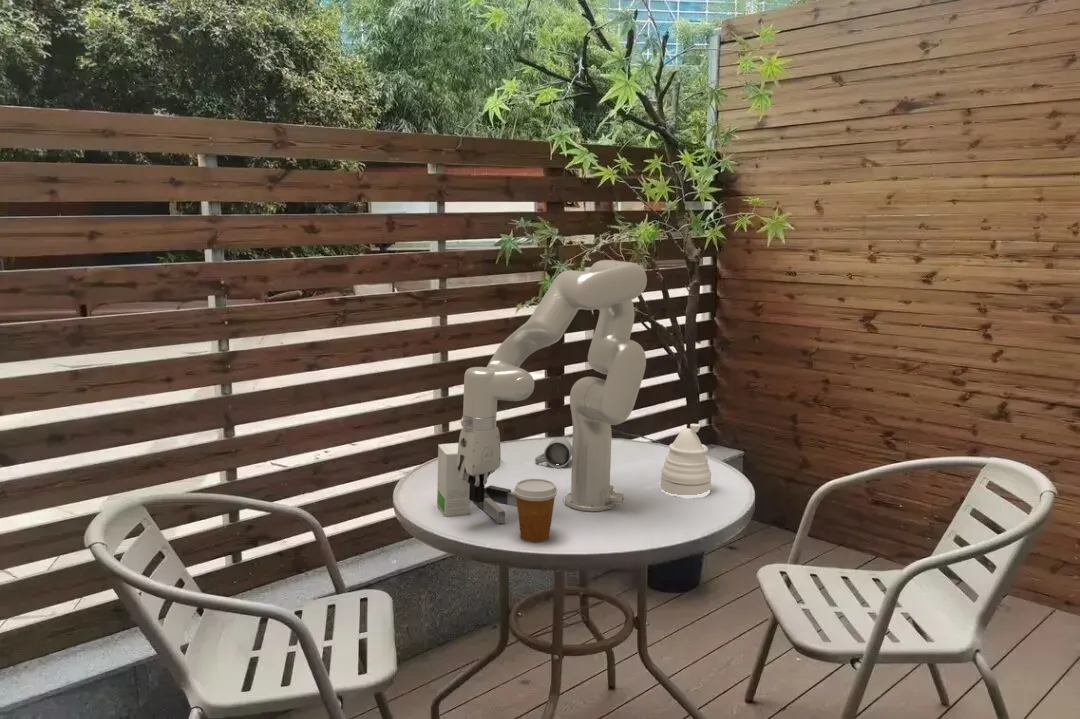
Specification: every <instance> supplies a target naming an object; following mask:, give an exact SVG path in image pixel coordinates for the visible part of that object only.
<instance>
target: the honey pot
mask: <svg viewBox="0 0 1080 719" xmlns="http://www.w3.org/2000/svg"><path fill="white" fill-rule="evenodd" d="M700 429H701V424H699V423H690V425H689V428H688V427H686V428H684V429H682V430H680V432H679V433H678V435H677V436H676V438H675V439H674V441H673V442H672V443H670V444H669V445H668V449H669V451H668V453H667V455H666V456H665V461H664V463H663V465H662V467H661V471H660V472H661V473H660V485H659V486H661V489H662V490H664V491H665V492H668V493H671V494H677V495H697V494H702V493H704V492H707V491H708V490H710V491H711V487H712V486H711V482H712V472H711V470H710V466H709V464H708V463H709V461H708V458H707V456H706V454H707V452H709V447H708V446H706V445H705V444H702V442H701V439H700V438H699V436H698V435H697V433H698V432H699V430H700ZM661 489H660V490H661Z"/></svg>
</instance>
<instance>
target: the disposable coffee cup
mask: <svg viewBox="0 0 1080 719" xmlns="http://www.w3.org/2000/svg"><path fill="white" fill-rule="evenodd" d="M513 492H514V493H515V495H516V499H517V506H516V507H517V515H518V523H519V524H518V526H519V533H520V538H521V540H523V541H525V542H528V541H529V543H542V542H546V541H547V540H549V538H550V532H551V526H552V518H553V511H554V506H555V500H556V499H555V498H556V496H557V494H558V489H557V486H556V484H555V483H554V482H553V481H551V480H548V479H543V478H527V479H522V480H520V481H518V482H517V483H516V484H515V488H514V489H513Z"/></svg>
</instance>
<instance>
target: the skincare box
mask: <svg viewBox="0 0 1080 719" xmlns="http://www.w3.org/2000/svg"><path fill="white" fill-rule="evenodd" d="M458 444H459V442H454V443H453V442H451V443H441V444H439V443H438V448H437V452H438V453H437V455H438V456H437V490H436V493H437V495H436V496H437V498H436V505H437V507H438V509H439V510H440V511H441V513H442V514H443V516H444V517H445V518H446V517H453V516H454V517H455V516H463V515H470V514H471V500H469V489H470V484H468V482H467V481H466V480H461V479H459V474H460V472H459V471H458V469H457V453H458Z"/></svg>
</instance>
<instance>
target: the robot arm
mask: <svg viewBox="0 0 1080 719" xmlns="http://www.w3.org/2000/svg"><path fill="white" fill-rule="evenodd" d="M647 278H648V277H647V274H646V271H645V269H644V268H643V267H642V266H641V265H639V264H637V263H636V262H631V261H621V260H611V259H601V260H599V261H596V262H594V263H593V264H592V265H591V267H590V269H589V271H581V270H571V269H570V270H568V269H567V270H565V271H561V273H559V274H558V275H557V276H556V277H555V278H554V280H553V281H552V283H551V284H550V286H549V288H548V290H547V291H546V292H545V294H544V296H543V297H542V299H541V300H540V301H539V303H538V305H537V306H536V308H535V309H534V311H533V313H532V315H531V316H530V317H529V319H528V320H527V321H526V322H525V323H524V324H522V325H521V326H519V327H518V328H517V329H516V330H515V331H513V333H511V334H510V335H509V336H508V337H506V339H505V340H504V341H503V342H502V343H501V344H500V345H499V347H498V348H497V349H496V351H495V352H494V354H493V355H492V357H491V359H490V360H489V362H488V363H487V366H486V367H485V366H474V367H473V366H472V367H469V368H467V369H466V370H465V371H464V372H465V373H464V378H463V379H464V380H463V403H462V404H463V409H462V410H463V411H462V417H463V421H462V422H461V421H460V425H461V426H463V427H462V429H461V430H460V434H459V437H458V438H459V439H458V443H459V444H458V453H457V469H458V471H459V472H460V474H459V479H461V480H466V481H467V482H468V484H470V489H469V500H470V502H473V503H475V502H476V503H480V502H483V501H484V488H486V487H485V485H486V484H487V482H488V479H489V477H490V475H492V474H493V473H495V472H496V470H498V469H500V467H501V461H502V459H501V454H502V453H501V452H502V451H501V450H502V448H501V437H500V431H499V427H498V426H497V416H498V414H497V413H498V412H497V410H498V401H511V402H520V401H524V400H526V399H528V398H530V396H531V395H532V393H533V392H534V389H535V380H534V377H533V375H532V374H531V373H530V372H529V371H527V370H526V369H523V368H521V367H520V366H522V364H523V363H524V362H525V360H526V359H527V358H528V357H529V356H530V355H532V354H533V353H535V352H536V351H538V350H541V349H544V348H546V347H549V346H551V345H554V344H555V343H557V342H559V341H560V340H561V339H562V337H563V335H564V334H565V332H566V330H568V327H569V326H570V324H571V322H572V321H573V320H574V318H575V316H576V314H577V313H578V311H579V310H585V311H594V310H599V314H598V315H599V316H598V319H597V324H596V326H595V330H594V333H593V336H592V340H591V341H590V342H591V343H590V345H589V346H590V347H589V349H588V354H587V362H588V364H589V367H590V368H592V369H593V370H594V371H596V372H598V373H600V374H603V375H606V379H604V378H603V379H602V378H599V377H596V376H584V377H582V378H580V379H578V380H577V381H575V382H574V384H572V387H571V390H570V393H569V406H570V412H571V419H572V441H571V442H572V444H571V445H572V456H571V478H570V481H571V483H570V484H571V485H570V492H569V493H567V494H566V495H565V496H564V504H565V505H567V506H568V507H569V508H571V509H575V510H578V511H583V512H601V511H606V510H610V509H612V508H614V506H616V504H619V505H623V504H624V502H625V497H624V493H622V492H616V491H615V490H614V488H615V487H614V485H611V464H612V463H611V462H612V440H613V439H612V426H616V425H617V426H618V425H620V424H622V423H624V422H625V421H627V419H628V418H629V417H630V415H631V414H632V412H633V410H634V407H635V405H636V400H637V398H638V394H639V392H640V388H641V385H642V381H643V378H644V375H645V371H646V367H647V357H646V356H647V355H646V353H645V349H644V348H643V347H642V345H641V344H639V342H637V341H635V340H633V339H630V338H631V334H632V332H633V331H632V330H633V327H634V322H635V306H634V302H633V300H635V299H637V298H638V297H639V296H641V294H643V292H644V291H645V289H646V288H647V283H648V279H647ZM473 476H474V477H473ZM476 503H475V504H476Z"/></svg>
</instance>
